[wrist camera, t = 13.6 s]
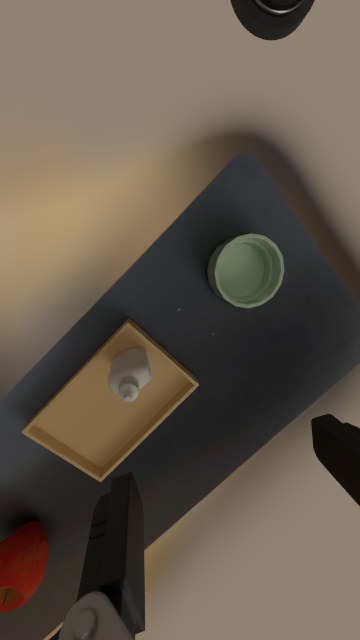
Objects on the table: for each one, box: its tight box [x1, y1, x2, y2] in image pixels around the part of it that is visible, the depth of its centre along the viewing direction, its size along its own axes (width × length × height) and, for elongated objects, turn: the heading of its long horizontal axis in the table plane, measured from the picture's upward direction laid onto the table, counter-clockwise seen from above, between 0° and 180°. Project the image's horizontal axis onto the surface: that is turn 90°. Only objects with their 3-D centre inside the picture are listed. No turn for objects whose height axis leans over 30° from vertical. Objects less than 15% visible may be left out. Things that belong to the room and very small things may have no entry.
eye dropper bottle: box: [107, 348, 151, 402], centre depth 34 cm, size 4×6×12 cm
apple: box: [0, 521, 49, 612], centre depth 40 cm, size 9×8×11 cm
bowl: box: [207, 233, 284, 308], centre depth 38 cm, size 10×10×4 cm
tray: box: [21, 318, 199, 482], centre depth 40 cm, size 23×15×3 cm, turn 135°
